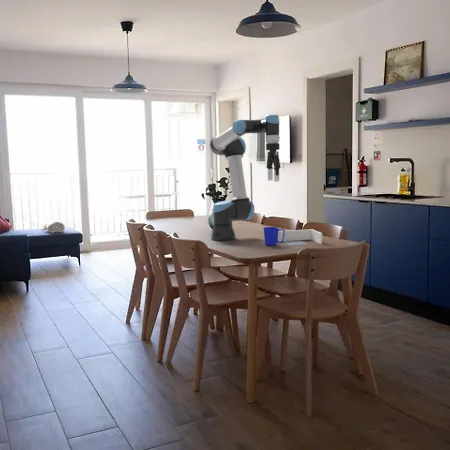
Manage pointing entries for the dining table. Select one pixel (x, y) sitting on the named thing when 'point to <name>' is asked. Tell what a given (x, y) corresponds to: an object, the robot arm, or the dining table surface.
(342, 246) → the dining table surface
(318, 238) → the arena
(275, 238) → the mug
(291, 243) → the mat
